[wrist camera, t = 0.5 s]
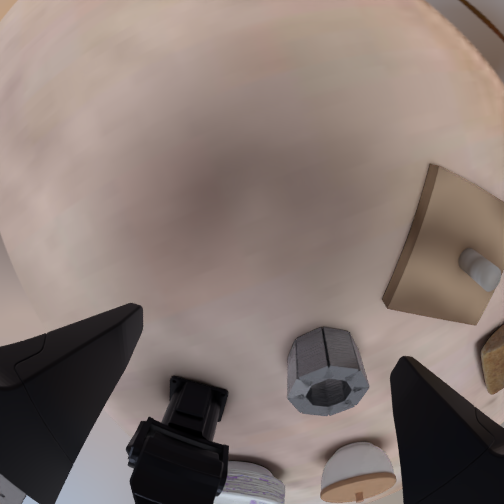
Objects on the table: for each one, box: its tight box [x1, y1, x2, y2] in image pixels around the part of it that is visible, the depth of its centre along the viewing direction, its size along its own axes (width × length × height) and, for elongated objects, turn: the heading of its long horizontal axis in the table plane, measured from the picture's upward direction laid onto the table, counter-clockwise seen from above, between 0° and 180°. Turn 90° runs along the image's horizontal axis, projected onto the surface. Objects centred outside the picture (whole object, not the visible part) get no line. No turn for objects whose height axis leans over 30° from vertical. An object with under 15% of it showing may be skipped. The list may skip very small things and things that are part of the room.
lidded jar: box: [320, 442, 396, 503], centre depth 27 cm, size 11×11×9 cm
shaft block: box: [382, 164, 504, 325], centre depth 17 cm, size 12×12×6 cm
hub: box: [287, 326, 369, 416], centre depth 22 cm, size 6×6×5 cm
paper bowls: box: [213, 461, 285, 504], centre depth 32 cm, size 15×15×8 cm
